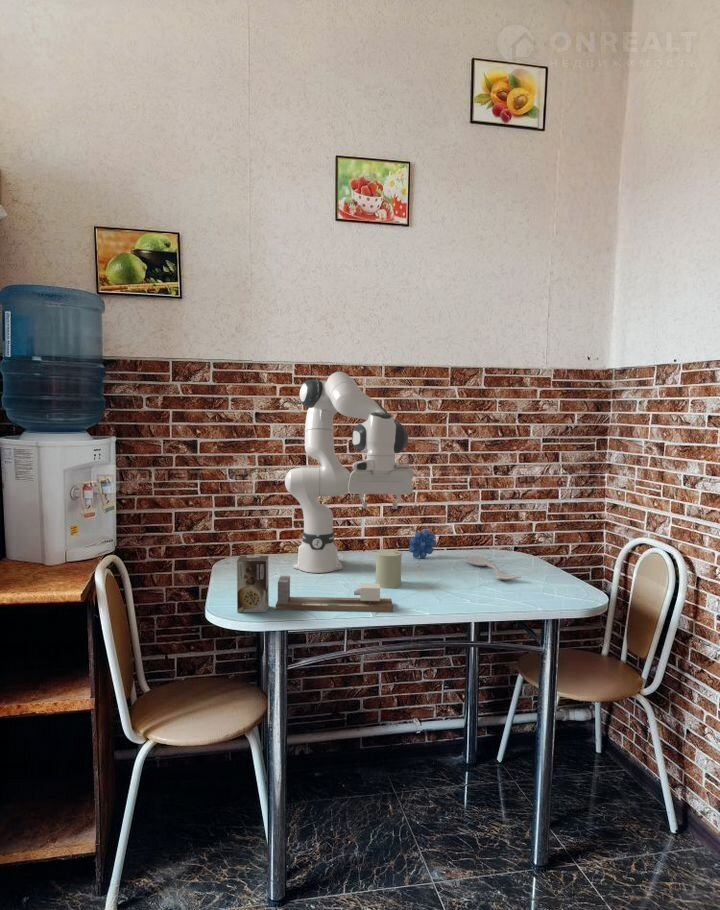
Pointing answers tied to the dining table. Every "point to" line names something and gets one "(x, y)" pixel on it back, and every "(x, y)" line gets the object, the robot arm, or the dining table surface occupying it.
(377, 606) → the gauge base
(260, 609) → the coffee box
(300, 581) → the dining table surface
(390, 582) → the can
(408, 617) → the dining table surface
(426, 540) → the grapes
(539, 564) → the dining table surface
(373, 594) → the block
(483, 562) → the spoon
